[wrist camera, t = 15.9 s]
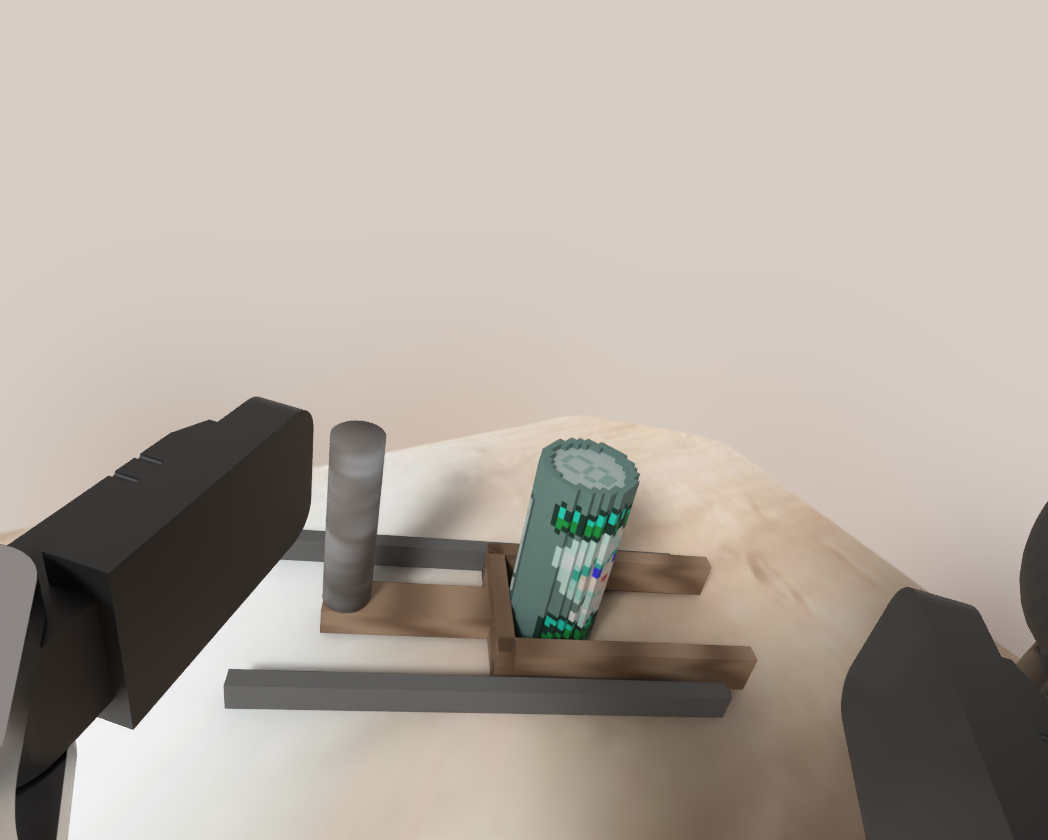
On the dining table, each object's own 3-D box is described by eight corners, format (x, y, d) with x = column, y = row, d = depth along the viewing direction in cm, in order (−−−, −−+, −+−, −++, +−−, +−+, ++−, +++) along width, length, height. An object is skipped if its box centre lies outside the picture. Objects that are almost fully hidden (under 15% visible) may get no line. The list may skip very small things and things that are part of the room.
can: (554, 681, 47) (606, 507, 40) (486, 631, 50) (523, 460, 42) (599, 633, 52) (654, 469, 44) (535, 590, 54) (576, 428, 47)
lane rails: (663, 571, 59) (669, 553, 58) (722, 717, 47) (732, 697, 46) (272, 548, 53) (272, 527, 52) (224, 708, 41) (223, 686, 40)
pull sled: (694, 584, 58) (756, 432, 50) (742, 689, 49) (826, 524, 41) (331, 563, 52) (340, 389, 45) (310, 678, 43) (317, 485, 36)
